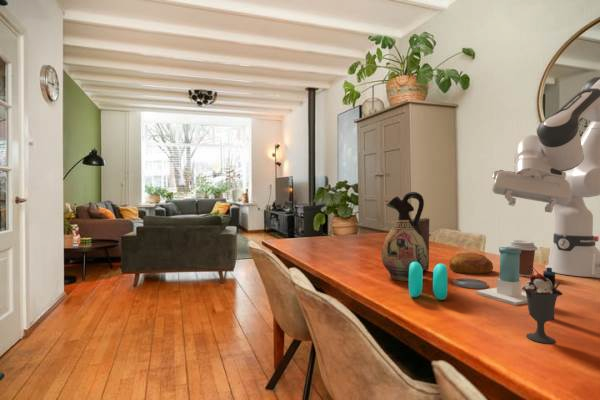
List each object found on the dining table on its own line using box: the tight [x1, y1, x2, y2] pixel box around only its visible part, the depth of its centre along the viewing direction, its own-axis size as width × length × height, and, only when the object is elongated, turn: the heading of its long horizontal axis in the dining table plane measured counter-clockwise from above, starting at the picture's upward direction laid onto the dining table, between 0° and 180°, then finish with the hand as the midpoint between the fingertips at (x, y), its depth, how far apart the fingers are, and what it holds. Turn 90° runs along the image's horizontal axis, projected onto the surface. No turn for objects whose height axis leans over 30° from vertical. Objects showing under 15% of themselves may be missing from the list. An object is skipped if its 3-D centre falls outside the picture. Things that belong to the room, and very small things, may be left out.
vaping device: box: [542, 268, 556, 320], centre depth 86 cm, size 3×5×12 cm, turn 27°
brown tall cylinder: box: [411, 217, 430, 272], centre depth 135 cm, size 8×7×20 cm
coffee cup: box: [507, 239, 538, 278], centre depth 129 cm, size 9×9×12 cm
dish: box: [452, 277, 488, 290], centre depth 116 cm, size 10×10×1 cm
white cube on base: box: [475, 278, 528, 306], centre depth 102 cm, size 12×12×5 cm
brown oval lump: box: [448, 251, 494, 274], centre depth 137 cm, size 14×16×8 cm
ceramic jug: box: [381, 191, 428, 282], centre depth 123 cm, size 17×15×30 cm
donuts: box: [408, 262, 448, 301], centre depth 101 cm, size 10×10×10 cm
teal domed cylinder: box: [498, 246, 521, 282], centre depth 102 cm, size 5×5×9 cm
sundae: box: [522, 265, 563, 345], centre depth 73 cm, size 7×7×15 cm
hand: (530, 207), depth 104 cm, fingers open, 8 cm apart
